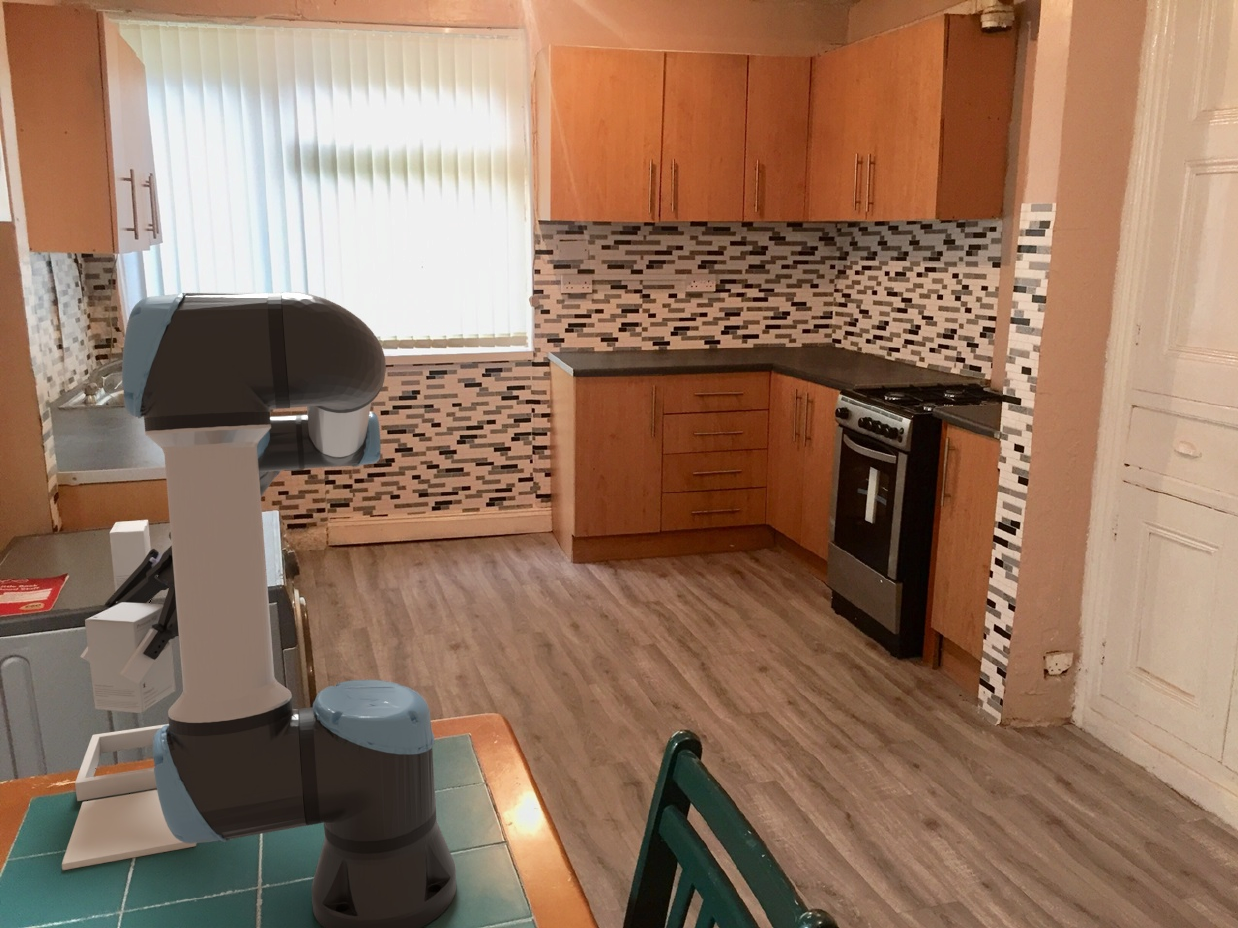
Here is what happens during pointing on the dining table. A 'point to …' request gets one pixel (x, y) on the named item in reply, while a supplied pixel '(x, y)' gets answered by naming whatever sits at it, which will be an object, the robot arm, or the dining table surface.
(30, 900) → the dining table surface
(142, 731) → the white square frame
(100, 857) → the cream coaster
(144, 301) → the robot arm
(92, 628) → the supplement box
